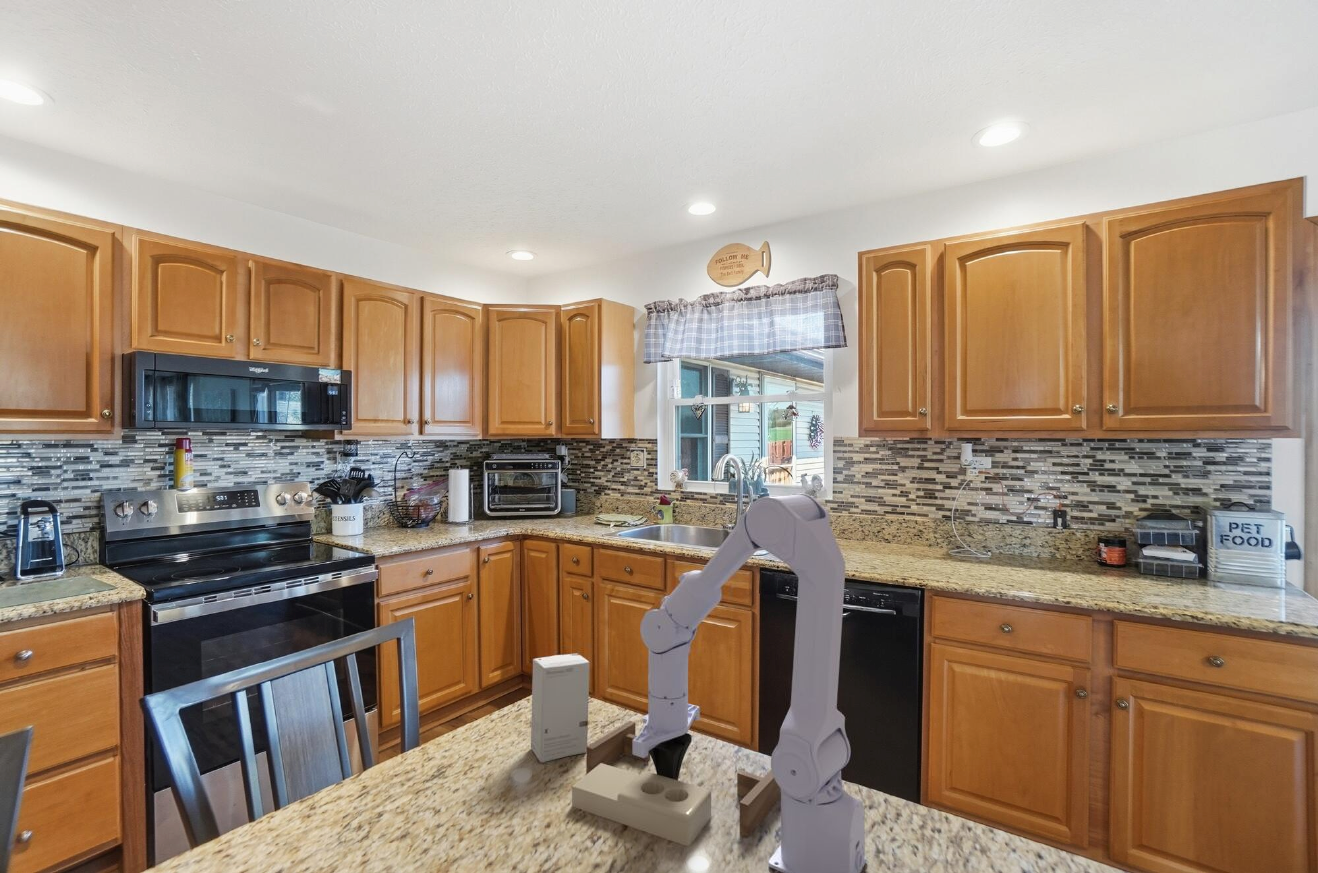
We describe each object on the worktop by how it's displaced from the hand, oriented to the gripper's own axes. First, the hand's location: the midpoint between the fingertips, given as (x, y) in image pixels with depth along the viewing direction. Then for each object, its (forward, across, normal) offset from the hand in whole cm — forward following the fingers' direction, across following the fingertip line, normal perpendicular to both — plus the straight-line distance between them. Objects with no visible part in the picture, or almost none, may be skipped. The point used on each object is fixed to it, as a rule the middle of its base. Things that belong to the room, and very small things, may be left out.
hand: (667, 787), depth 88 cm
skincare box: (+2, -1, -22) cm, 22 cm away
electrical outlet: (+2, +5, -1) cm, 6 cm away
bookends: (+1, -4, 0) cm, 4 cm away
